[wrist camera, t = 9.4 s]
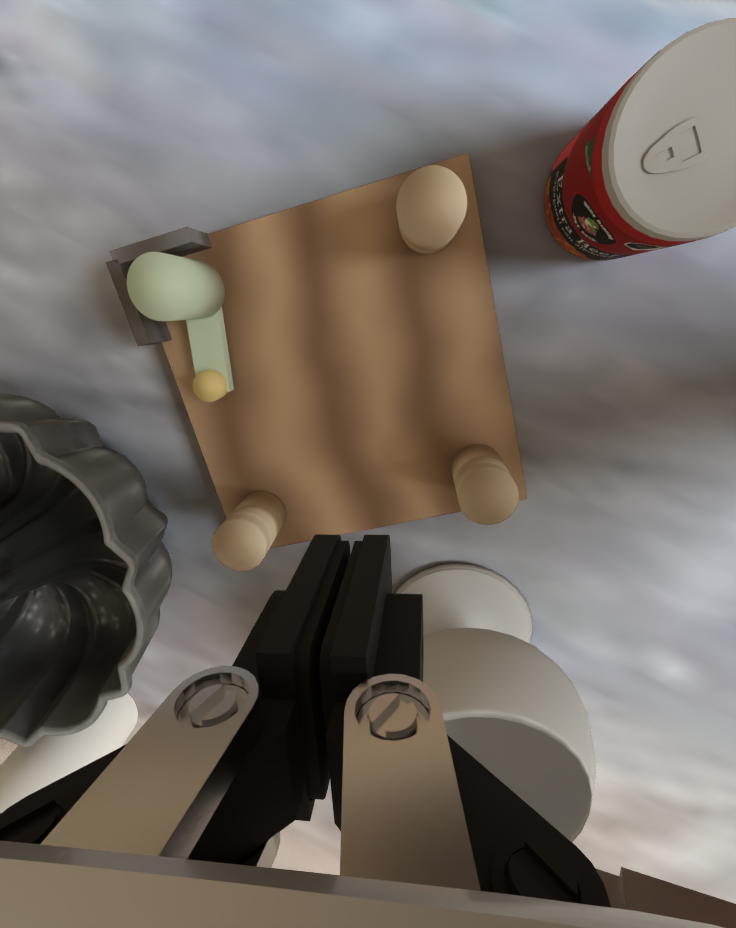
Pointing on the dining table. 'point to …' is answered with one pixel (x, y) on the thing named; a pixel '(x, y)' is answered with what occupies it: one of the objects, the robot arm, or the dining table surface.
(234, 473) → the stool board
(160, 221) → the dining table surface
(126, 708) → the cylindrical container
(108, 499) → the bundt pan
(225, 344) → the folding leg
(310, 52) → the dining table surface
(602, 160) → the canned food
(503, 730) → the chalice
